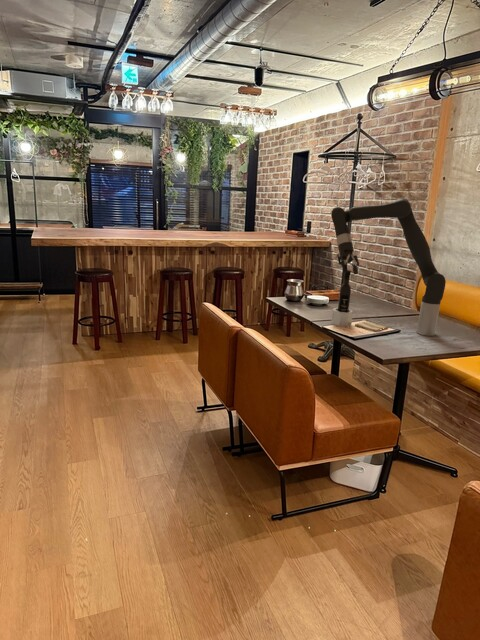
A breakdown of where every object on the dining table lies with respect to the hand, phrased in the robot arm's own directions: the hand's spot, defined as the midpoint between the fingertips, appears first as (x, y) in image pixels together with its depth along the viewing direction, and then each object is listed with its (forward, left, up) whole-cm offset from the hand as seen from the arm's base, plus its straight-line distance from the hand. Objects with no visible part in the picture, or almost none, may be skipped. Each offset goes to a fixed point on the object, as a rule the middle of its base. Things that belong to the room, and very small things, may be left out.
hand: (351, 273), depth 236 cm
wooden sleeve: (-8, -7, -30) cm, 32 cm away
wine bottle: (-8, -7, -30) cm, 32 cm away
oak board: (-18, +6, -30) cm, 36 cm away
